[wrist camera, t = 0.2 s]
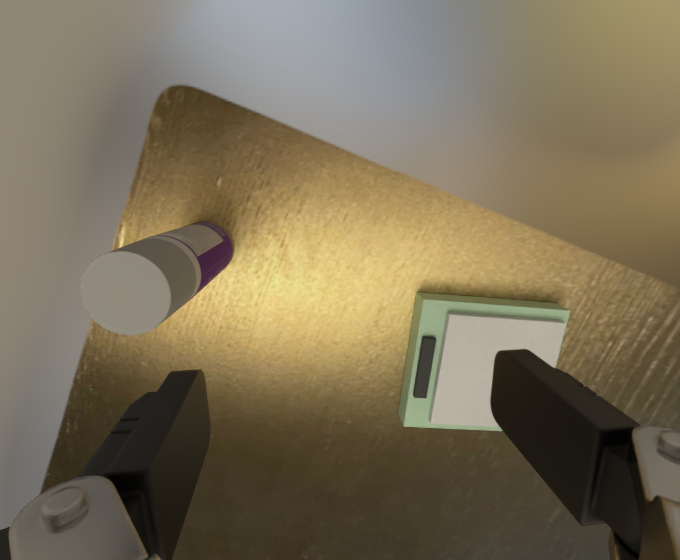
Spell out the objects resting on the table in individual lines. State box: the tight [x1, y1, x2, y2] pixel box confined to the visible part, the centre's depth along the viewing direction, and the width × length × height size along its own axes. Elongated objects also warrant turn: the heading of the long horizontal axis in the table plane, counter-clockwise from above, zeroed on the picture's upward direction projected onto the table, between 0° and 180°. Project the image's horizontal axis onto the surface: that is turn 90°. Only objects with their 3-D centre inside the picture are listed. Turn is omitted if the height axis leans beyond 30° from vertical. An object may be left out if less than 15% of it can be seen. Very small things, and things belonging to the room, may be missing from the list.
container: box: [80, 222, 234, 335], centre depth 26 cm, size 5×5×15 cm
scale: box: [398, 292, 570, 431], centre depth 36 cm, size 13×14×3 cm
